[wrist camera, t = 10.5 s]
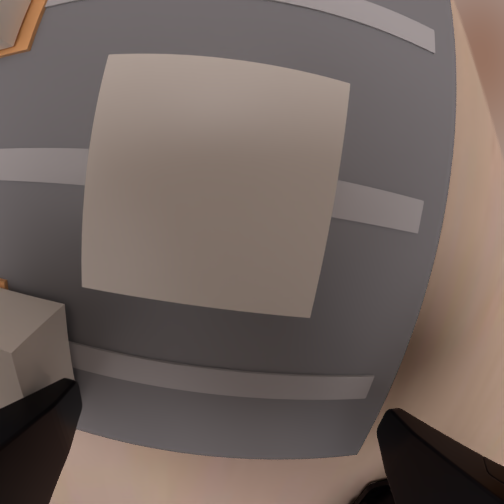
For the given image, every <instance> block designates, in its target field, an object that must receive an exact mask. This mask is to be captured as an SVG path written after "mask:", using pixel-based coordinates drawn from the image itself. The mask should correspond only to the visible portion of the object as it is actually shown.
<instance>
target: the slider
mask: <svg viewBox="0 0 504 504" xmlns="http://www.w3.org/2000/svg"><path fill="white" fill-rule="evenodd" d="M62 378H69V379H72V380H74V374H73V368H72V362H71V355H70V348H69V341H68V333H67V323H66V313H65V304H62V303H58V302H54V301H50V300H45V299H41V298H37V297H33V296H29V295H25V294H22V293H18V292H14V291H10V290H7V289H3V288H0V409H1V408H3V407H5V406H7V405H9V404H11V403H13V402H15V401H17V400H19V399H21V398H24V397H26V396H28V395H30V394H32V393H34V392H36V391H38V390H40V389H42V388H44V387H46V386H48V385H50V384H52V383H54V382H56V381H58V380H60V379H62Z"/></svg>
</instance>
